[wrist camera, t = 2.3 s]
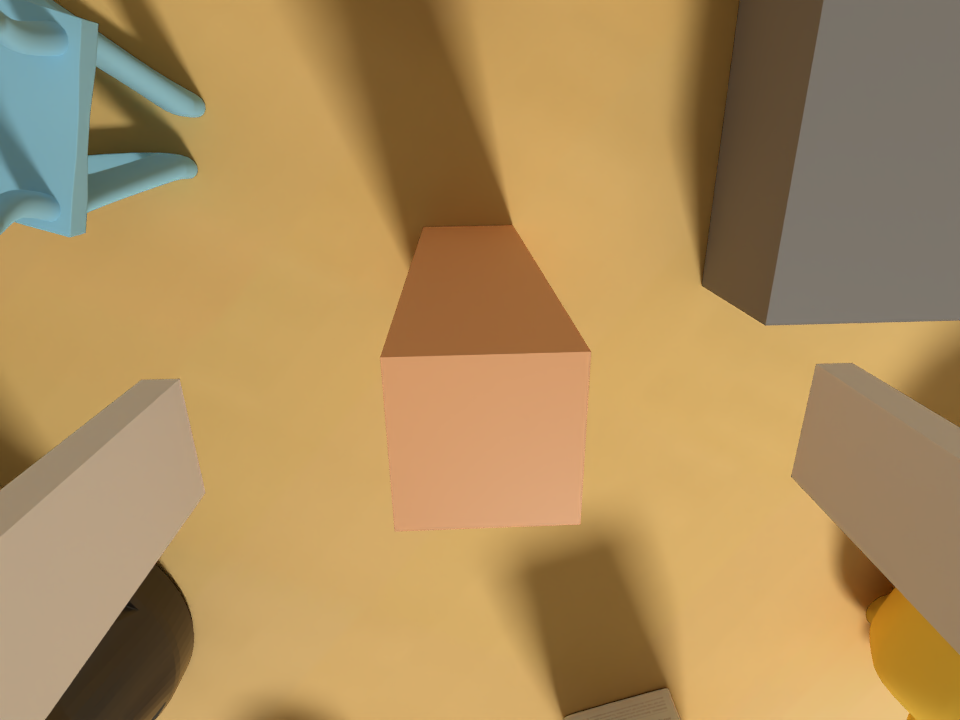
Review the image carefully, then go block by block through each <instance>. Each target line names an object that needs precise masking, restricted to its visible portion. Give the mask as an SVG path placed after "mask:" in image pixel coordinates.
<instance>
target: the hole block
mask: <svg viewBox="0 0 960 720" xmlns="http://www.w3.org/2000/svg"><path fill="white" fill-rule="evenodd" d="M702 286H703V287H705V288H706V289H708V290H710V291H711V292H713V293H714V294H716V295H718V296H719V297H721V298H722V299H724V300H726V301H727V302H729V303H730V304H732V305H734V306H735V307H737V308H738V309H740V310H742V311H743V312H745V313H746V314H748V315H750V316H751V317H753V318H754V319H756V320H758V321H759V322H761V323H762V324H764V325H801V324H839V323H877V322H915V321H953V320H960V0H740V1H739V9H738V16H737V24H736V31H735V39H734V46H733V54H732V62H731V69H730V77H729V84H728V92H727V99H726V107H725V114H724V122H723V130H722V137H721V145H720V152H719V160H718V167H717V175H716V182H715V190H714V198H713V205H712V213H711V220H710V228H709V235H708V243H707V250H706V258H705V266H704V273H703V281H702Z"/></svg>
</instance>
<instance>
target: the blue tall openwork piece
mask: <svg viewBox="0 0 960 720" xmlns="http://www.w3.org/2000/svg"><path fill="white" fill-rule="evenodd" d="M98 25H99V24H98V23H95V22H92V21H89V20H86V19H83V18H80V17H77V16H75V15H73V14H72V13H70V12H69V11H68V10H66V9H65V8H63V7H62V6H60V5H59V4H57V3H56V2H54V1H53V0H0V235H1V234H2V233H3V232H4V231H5V230H6V229H7V228H8V227H9V226H10V225H11V224H12V223H13V222H16V223H20V224H23V225H26V226H30V227H34V228H37V229H41V230H45V231H48V232H52V233H56V234H60V235H63V236H67V237H73V236H76V235H80V234H83V233H86V220H87V213H88V212H90V211H93V210H95V209H97V208H100V207H102V206H105V205H107V204H110V203H113V202H115V201H118V200H121V199H123V198H126V197H129V196H132V195H135V194H137V193H140V192H143V191H146V190H149V189H152V188H155V187H158V186H161V185H163V184H166V183H169V182H172V181H175V180H179V179H189V178H193V177H194V176H196V174H197V172H198V169H197V165H196V164H195V162H194V161H193V160H191V159H190V158H189V157H186V156H182V155H179V154H170V153H116V154H98V155H88V141H89V124H90V111H91V103H92V95H93V87H94V80H95V72H96V67H98V68H99V69H101V70H102V71H104V72H106V73H107V74H109V75H111V76H112V77H114V78H116V79H117V80H119V81H120V82H122V83H123V84H125V85H126V86H128V87H130V88H131V89H133V90H134V91H136V92H137V93H139V94H140V95H142V96H144V97H145V98H147V99H148V100H150V101H151V102H153V103H154V104H156V105H157V106H159V107H161V108H162V109H164V110H165V111H168V112H170V113H172V114H175V115H179V116H185V117H200V116H202V115H203V114H204V112H205V103H204V102H203V100H202V99H201V98H200V97H199V96H197V95H196V94H194V93H193V92H191V91H189V90H187V89H185V88H184V87H182V86H180V85H178V84H176V83H175V82H173V81H171V80H170V79H168V78H166V77H165V76H163V75H161V74H160V73H158V72H156V71H155V70H153V69H152V68H150V67H149V66H147V65H146V64H144V63H143V62H141V61H140V60H138V59H137V58H135V57H134V56H132V55H131V54H129V53H128V52H127V51H125V50H124V49H122V48H121V47H119V46H118V45H116V44H115V43H114V42H112V41H111V40H109V39H108V38H106V37H105V36H104V35H102V34H101V33H99V32H98Z"/></svg>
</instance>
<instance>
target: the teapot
mask: <svg viewBox="0 0 960 720" xmlns="http://www.w3.org/2000/svg"><path fill="white" fill-rule="evenodd" d="M866 618H867V620H868V622H869V623H871V626H870V647H871V654H872V659H873V664H874V668H875V670H876V672H877V674H878V676H879V678H880V679H881V681H882V683H883V684H884V685H885V686H886V688H887V689H888V690H889V691H890V693H891V694H892V695H893V696H894V697H895V698H896V699H897V700H898V701H899V702H900V704H901V705H902V706H903V707H904V708H905V709H906V710H907V711H908V712H909V715H908V717H907V720H960V655H959V654H958V653H957V652H956V651H955V649H954V648H953V647H952V646H951V645H950V644H949V643H948V642H947V641H946V640H945V639H944V638H943V637H942V636H941V635H940V634H939V633H938V631H937V630H936V629H935V628H934V627H933V626H932V625H931V624H930V623H929V622H928V621H927V620H926V619H925V618H924V617H923V616H922V615H921V614H920V612H919V611H918V610H917V609H916V608H915V607H914V606H913V605H912V604H911V603H910V602H909V601H908V600H907V599H906V598H905V597H904V596H903V594H902V593H901V592H900V591H899V590H898V589H897V588H896V587H895V588H894V589H893V590H892V592H891V593H890V594H889V595H885V596H882V597H880V598H878V599H876V600H875V601H873V602H872V603H871V604H870V606H869V607H868V609H867V611H866Z"/></svg>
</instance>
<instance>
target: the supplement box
mask: <svg viewBox="0 0 960 720" xmlns="http://www.w3.org/2000/svg"><path fill="white" fill-rule="evenodd" d="M564 720H681V719H680V717H679V714H678V712H677V709H676V707H675V704H674V702H673V699H672V697H671V694H670V691H669V689H667V688H665V689H661V690H656V691H653V692H649V693H645V694H642V695H638V696H635V697H631V698H627V699H624V700H621V701H617V702H613V703H609V704H606V705H602V706H599V707H596V708H592V709H589V710H585V711H581V712H578V713H574V714H572V715H569V716H566V717H565V718H564Z"/></svg>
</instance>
